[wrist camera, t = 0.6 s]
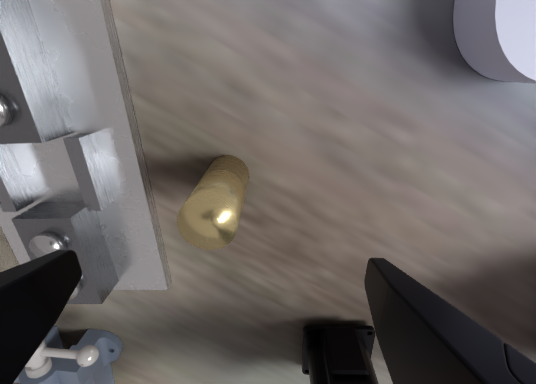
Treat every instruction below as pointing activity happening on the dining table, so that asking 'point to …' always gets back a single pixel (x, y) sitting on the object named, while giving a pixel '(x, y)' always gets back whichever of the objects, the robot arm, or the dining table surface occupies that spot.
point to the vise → (73, 360)
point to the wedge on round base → (498, 37)
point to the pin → (215, 204)
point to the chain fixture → (74, 148)
